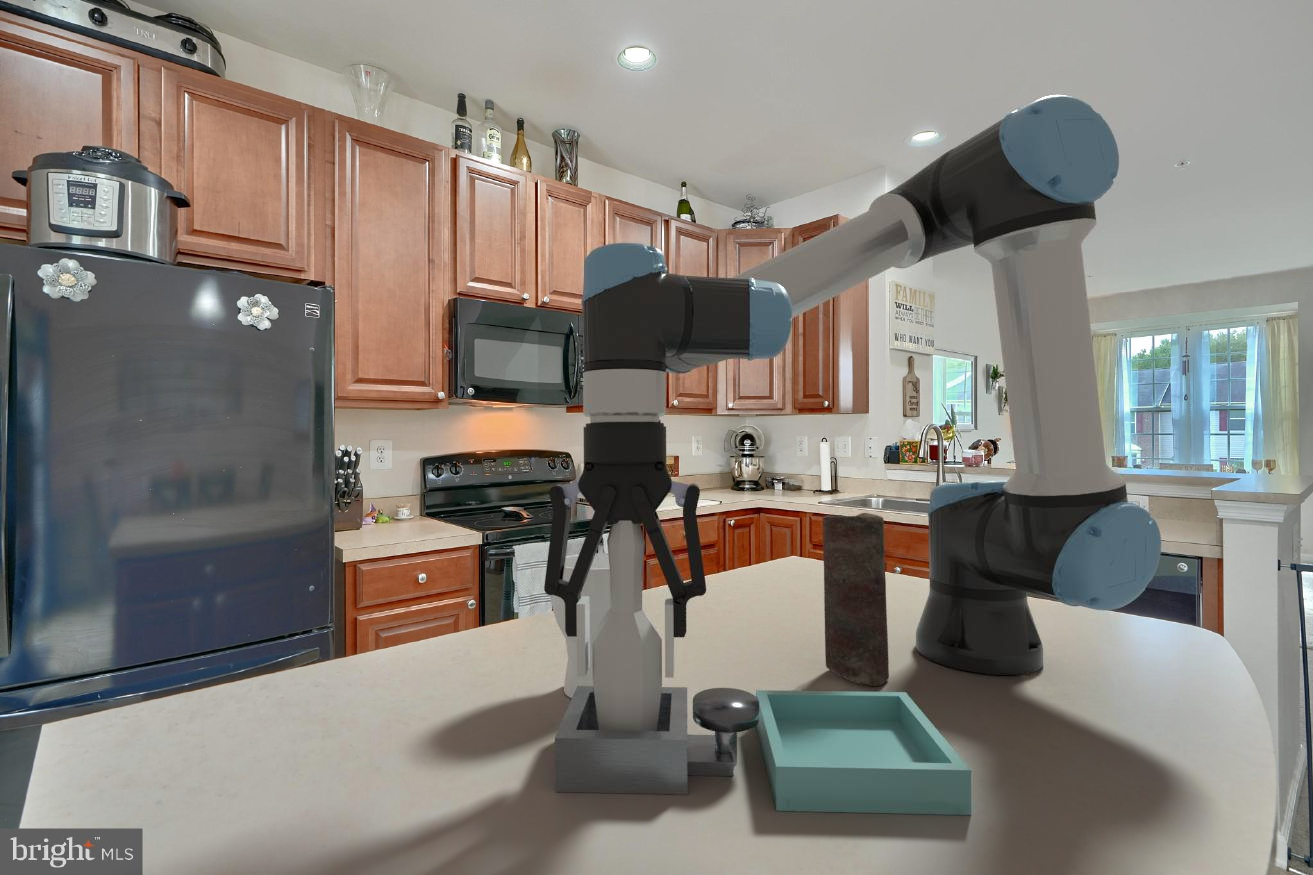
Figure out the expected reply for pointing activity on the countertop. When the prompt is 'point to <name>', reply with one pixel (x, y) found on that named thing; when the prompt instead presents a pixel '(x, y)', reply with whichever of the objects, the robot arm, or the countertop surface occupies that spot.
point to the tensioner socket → (651, 744)
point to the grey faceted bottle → (626, 642)
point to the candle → (855, 598)
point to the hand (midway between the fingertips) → (626, 671)
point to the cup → (599, 606)
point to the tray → (858, 754)
